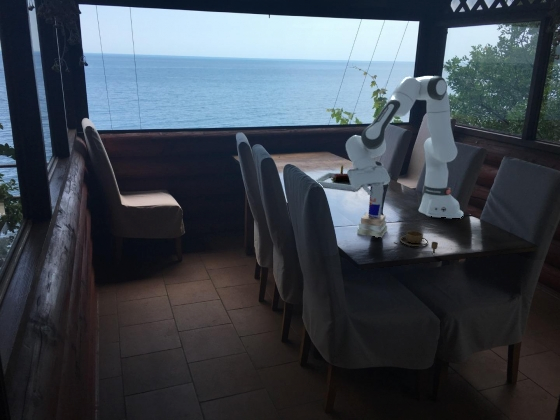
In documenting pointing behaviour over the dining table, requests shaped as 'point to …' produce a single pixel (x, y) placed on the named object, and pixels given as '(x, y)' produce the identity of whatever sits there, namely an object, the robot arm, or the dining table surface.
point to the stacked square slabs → (372, 226)
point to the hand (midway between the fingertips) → (376, 193)
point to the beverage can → (375, 201)
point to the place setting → (417, 239)
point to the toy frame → (334, 185)
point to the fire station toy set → (341, 178)
